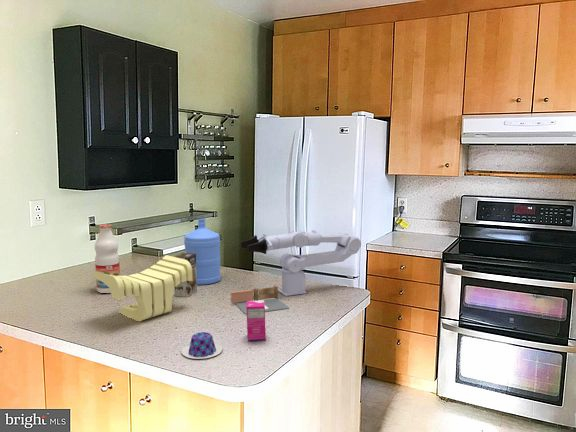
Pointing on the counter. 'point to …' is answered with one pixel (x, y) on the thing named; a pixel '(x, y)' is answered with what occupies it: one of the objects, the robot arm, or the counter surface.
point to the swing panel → (241, 296)
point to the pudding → (201, 346)
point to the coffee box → (186, 286)
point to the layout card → (270, 305)
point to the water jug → (204, 253)
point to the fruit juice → (106, 256)
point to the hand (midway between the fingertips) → (244, 246)
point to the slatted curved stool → (149, 287)
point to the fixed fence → (266, 293)
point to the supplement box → (256, 320)
